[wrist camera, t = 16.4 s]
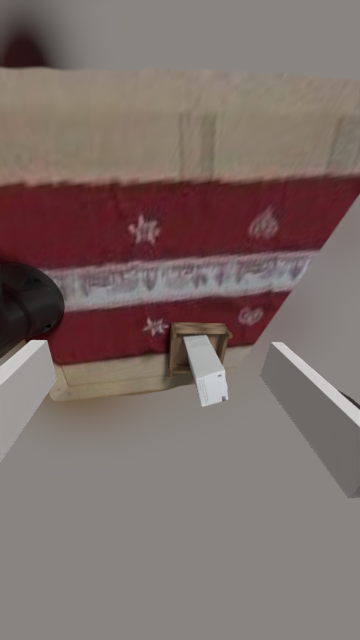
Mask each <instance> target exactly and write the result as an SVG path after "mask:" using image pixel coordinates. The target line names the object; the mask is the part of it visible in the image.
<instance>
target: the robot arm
mask: <svg viewBox="0 0 360 640" xmlns="http://www.w3.org/2000/svg"><path fill="white" fill-rule="evenodd" d="M63 313H64V300H63V296H62V294H61V292H60V290H59V288H58V287H57V285H56V284H55V283H54V282H53V281H52V280H51V279H50V278H49V277H48V276H47V275H46V274H44V273H43V272H41V271H40V270H38V269H36V268H34V267H31V266H29V265H25V264H21V263H4V264H1V263H0V358H1V357H3V356H4V355H5V354H6V353H8V351H10V350H11V349H12V348H14V347H15V346H16V345H17V344H18V343H20V342H21V341H22V340H23V339H26V338H29V337H32V336H36V335H39V334H42V333H45V332H47V331H48V330H50V329H51V328H53V327H54V326H55V325H56V324H57V323H58V322H59V321H60V319H61V318H62V316H63ZM260 377H261V378H262V380H263V381H264V383H265V384H266V385H267V387H268V388H269V389H270V390H271V392H272V394H273V395H274V396H275V398H276V399H277V401H278V402H279V403H280V405H281V406H282V407H283V409H284V410H285V412H286V413H287V414H288V415H289V417H290V419H291V420H292V421H293V422H294V424H295V425H296V427H297V428H298V429H299V431H300V432H301V434H302V435H303V436H304V438H305V439H306V441H307V442H308V443H309V445H310V446H311V448H312V449H313V450H314V452H315V453H316V454H317V456H318V457H319V459H320V460H321V461H322V463H323V464H324V466H325V467H326V468H327V470H328V471H329V472H330V474H331V475H332V477H333V478H334V479H335V481H336V482H337V484H338V485H339V486H340V488H341V489H342V490H343V492H344V493H345V495H346V496H347V497H348V498H357V497H360V405H359V404H357V403H356V402H355V401H354V400H353V399H351V398H350V397H348V396H346V395H345V394H343V393H342V392H340V391H338V390H336V389H335V388H334V387H333V386H332V385H330V384H329V383H328V382H327V381H326V380H325V379H324V378H322V377H321V376H320V375H319V374H318V373H317V372H315V371H314V370H313V369H312V368H311V367H310V366H309V365H307V364H306V363H305V362H304V361H303V360H302V359H300V358H299V357H298V356H297V355H296V354H295V353H294V352H292V351H291V350H290V349H289V348H288V347H287V346H286V345H284V344H283V343H281V342H271V344H270V347H269V350H268V353H267V356H266V359H265V362H264V365H263V368H262V371H261V374H260ZM56 380H57V378H56V374H55V370H54V366H53V362H52V358H51V354H50V350H49V346H48V342H47V340H31V341H30V342H29V343H27V344H26V345H25V346H24V347H23V348H22V349H20V350H19V351H18V352H17V353H16V354H14V355H13V356H12V357H11V358H10V359H9V360H8V361H6V362H5V363H4V364H3V365H2V366H0V462H1V461H2V459H3V458H4V456H5V455H6V453H7V452H8V451H9V449H10V448H11V446H12V445H13V443H14V442H15V440H16V439H17V437H18V436H19V434H20V433H21V432H22V430H23V429H24V427H25V426H26V424H27V423H28V421H29V420H30V418H31V417H32V415H33V414H34V412H35V411H36V410H37V408H38V406H39V405H40V404H41V402H42V401H43V399H44V398H45V396H46V395H47V393H48V392H49V391H50V389H51V388H52V386H53V385H54V383H55V382H56Z"/></svg>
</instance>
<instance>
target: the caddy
mask: <svg viewBox="0 0 360 640" xmlns="http://www.w3.org/2000/svg"><path fill="white" fill-rule="evenodd" d="M196 333H197V334H206V335H207V337H208V339H209V341H210V343H211V345H212V347H213V348H214V350H215V352H216V354H217V356H218V358H219V360H220V362H221V364H223V360H224V355H225V350H226V345H227V341H228V338H232V336H233V335H232V334H231V332H230V331H229V329H228V328H227V327H226V325H225V324H222V323H175V322H171V331H170V347H169V363H168V365H169V376H170V379H173V374H188V373H192V371H191V368H190V364H189V361H188V355H187V350H186V346H185V343H184V340H183V336H187V335H191V334H196Z"/></svg>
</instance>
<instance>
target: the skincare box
mask: <svg viewBox="0 0 360 640" xmlns="http://www.w3.org/2000/svg"><path fill="white" fill-rule="evenodd" d="M183 340H184V343H185V346H186V350H187V355H188V361H189V364H190V368H191V371H192V374H193V378H194V381H195V385H196V388H197V391H198V394H199V398H200V402H201V405H202V407H203V406H207V405H211V404H214V403H218V402H221V401H224V400H228V394H227V384H226V379H225V370H224V368H223V366H222V364H221V362H220V360H219V358H218V356H217V354H216V352H215V350H214V348H213V347H212V345H211V343H210V341H209V339H208V337H207V335H206V334H197V333H196V334H191V335H187V336H183Z"/></svg>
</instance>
